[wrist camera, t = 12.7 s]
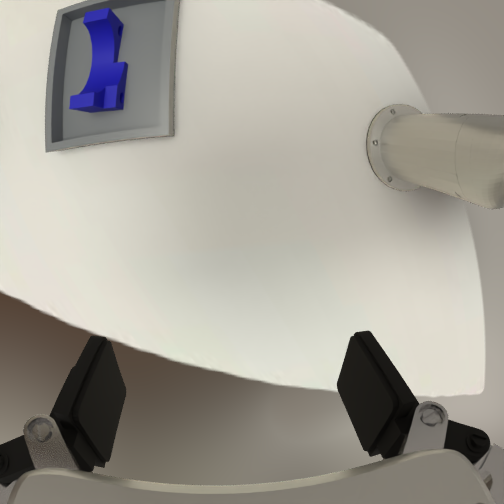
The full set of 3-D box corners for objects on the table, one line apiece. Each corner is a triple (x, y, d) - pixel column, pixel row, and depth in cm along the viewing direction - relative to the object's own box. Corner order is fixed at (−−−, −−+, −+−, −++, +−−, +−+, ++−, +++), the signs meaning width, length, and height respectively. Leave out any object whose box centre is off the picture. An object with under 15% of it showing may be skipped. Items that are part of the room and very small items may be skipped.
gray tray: (180, -4, 25) (176, -17, 21) (174, 135, 32) (168, 135, 29) (69, 19, 23) (57, 10, 20) (60, 150, 30) (45, 152, 27)
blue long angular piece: (123, 109, 29) (105, 104, 24) (90, 112, 29) (69, 109, 23) (135, 23, 25) (121, 5, 19) (102, 28, 24) (85, 12, 19)
